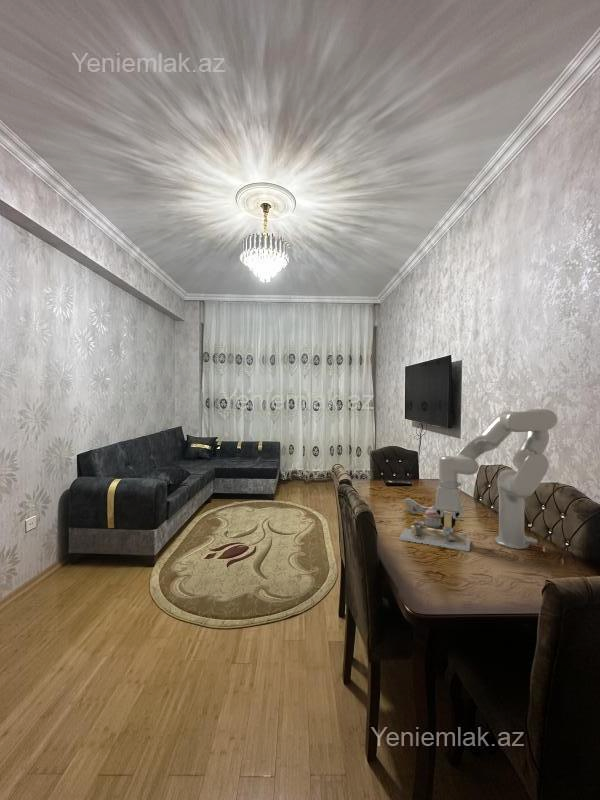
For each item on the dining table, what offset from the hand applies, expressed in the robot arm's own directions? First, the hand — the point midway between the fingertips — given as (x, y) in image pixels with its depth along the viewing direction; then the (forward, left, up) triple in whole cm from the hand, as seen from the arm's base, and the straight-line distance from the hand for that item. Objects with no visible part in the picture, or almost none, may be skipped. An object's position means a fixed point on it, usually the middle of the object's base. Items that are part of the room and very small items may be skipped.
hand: (448, 525), depth 161 cm
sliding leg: (0, +1, -5) cm, 5 cm away
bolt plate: (+5, +3, -7) cm, 9 cm away
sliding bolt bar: (+4, +1, -5) cm, 7 cm away
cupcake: (+8, -17, -7) cm, 20 cm away
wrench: (+11, -33, -7) cm, 36 cm away
